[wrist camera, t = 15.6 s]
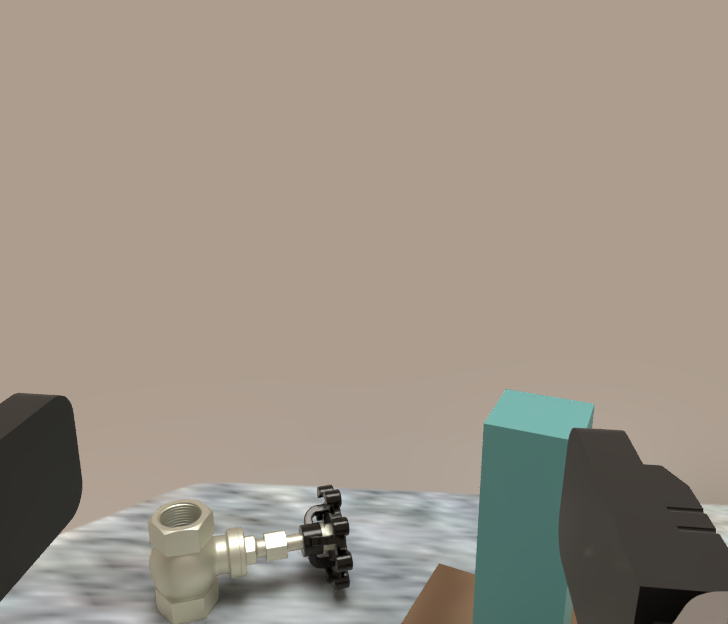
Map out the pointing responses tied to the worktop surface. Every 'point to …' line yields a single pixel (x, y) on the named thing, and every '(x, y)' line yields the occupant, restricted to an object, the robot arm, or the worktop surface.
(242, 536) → the valve
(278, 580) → the worktop surface
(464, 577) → the board
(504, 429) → the plug
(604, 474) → the robot arm
